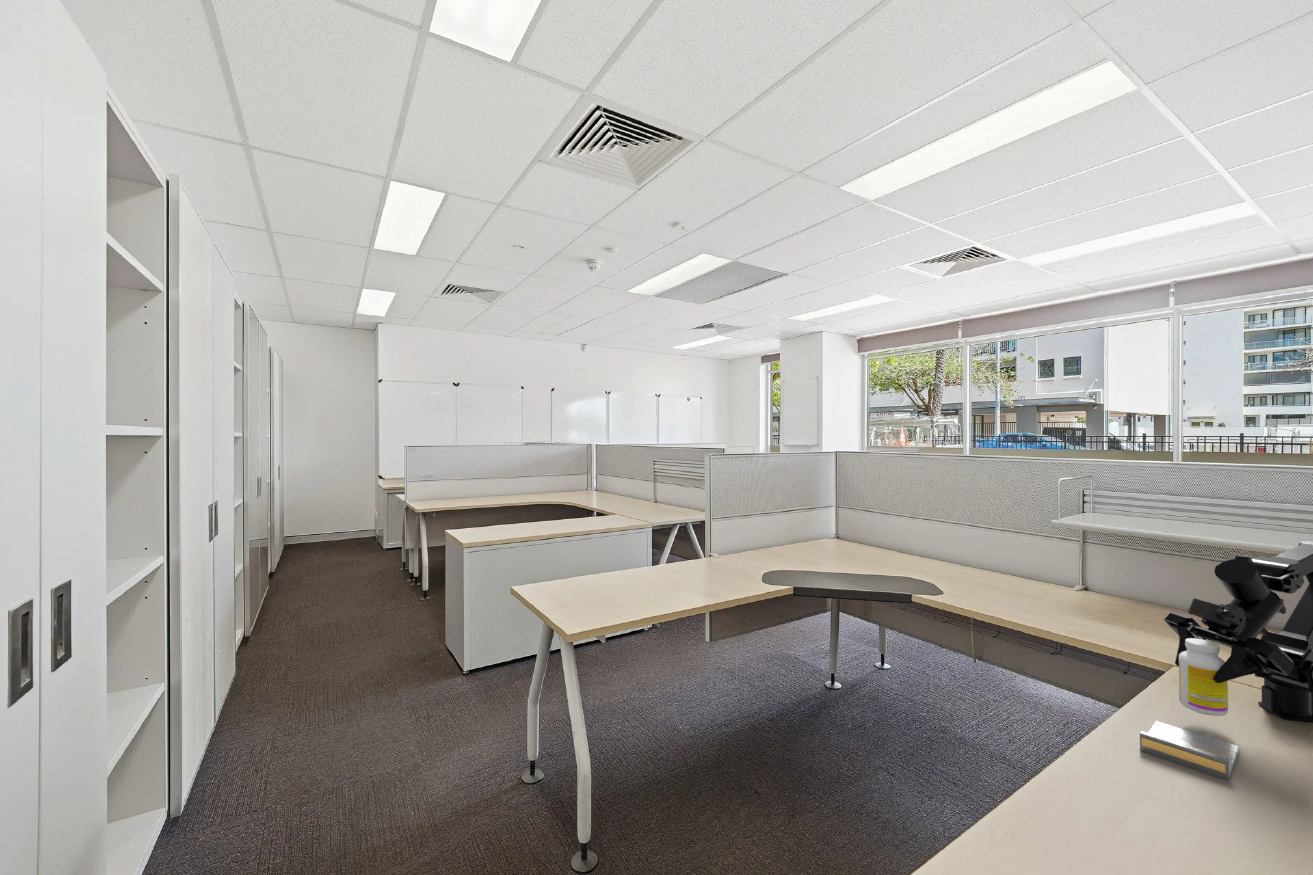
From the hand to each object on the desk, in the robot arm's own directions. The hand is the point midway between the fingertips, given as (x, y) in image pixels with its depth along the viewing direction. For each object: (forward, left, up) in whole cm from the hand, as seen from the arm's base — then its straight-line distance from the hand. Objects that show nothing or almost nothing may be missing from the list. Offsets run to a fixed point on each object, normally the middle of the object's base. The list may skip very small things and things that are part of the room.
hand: (1195, 673), depth 105 cm
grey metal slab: (+6, +10, -10) cm, 16 cm away
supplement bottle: (-1, 0, -7) cm, 7 cm away
